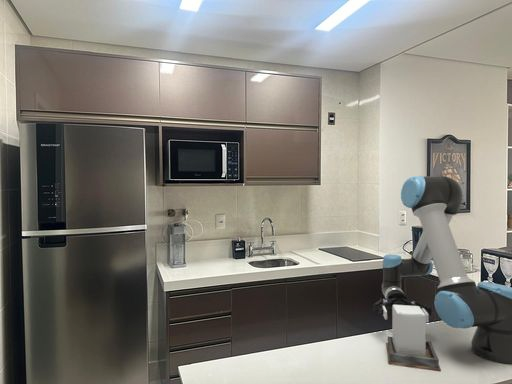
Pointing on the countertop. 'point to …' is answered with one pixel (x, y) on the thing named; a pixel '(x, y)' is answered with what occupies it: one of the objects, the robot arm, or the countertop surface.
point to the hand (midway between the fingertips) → (406, 317)
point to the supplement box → (408, 330)
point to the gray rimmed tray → (414, 358)
